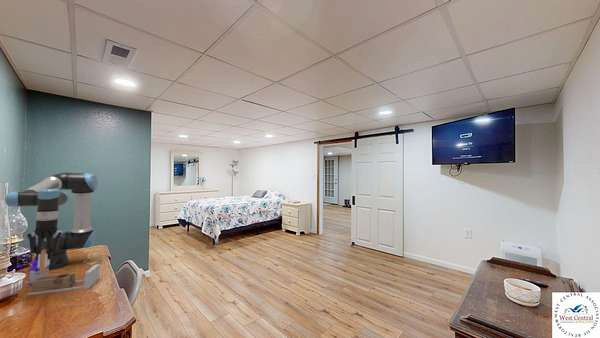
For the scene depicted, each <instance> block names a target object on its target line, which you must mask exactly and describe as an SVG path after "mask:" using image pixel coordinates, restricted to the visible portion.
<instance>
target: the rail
mask: <svg viewBox="0 0 600 338" xmlns="http://www.w3.org/2000/svg"><path fill="white" fill-rule="evenodd" d="M100 267H101V266H100V263H99V264H94V265H93V266H91V268H89V269H88V270H87V271H86V272H85V274H84V279H81V280H80V279H79V280H75V283H74V284H79V283H80V284H81V283H84V285H81V286H71V287H70V288H64V289H56V290H47V291H39V292H31V291H30V292H27V293H26V295H27V296H33V295H42V294H49V293H58V292H64V291H66V292H67V291H75V290H81V289H83V290H89V289H90V288H91V287H92V286H93V285H95V284H96V282H97V281H99V280H100V278H99V277H100Z"/></svg>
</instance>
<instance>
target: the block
mask: <svg viewBox="0 0 600 338" xmlns="http://www.w3.org/2000/svg"><path fill="white" fill-rule="evenodd" d="M75 281H76V272H70V273H69V272H68V273H67V272H66V273H59V274H58V273H57V274H48V275H46V276H41V277H39V278H38V279H36V280H35V281H33V282H32V285H31V291H30V292H39V291H47V290H56V289H64V288H72V287H73V285H75V284H76V283H75Z"/></svg>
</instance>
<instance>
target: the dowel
mask: <svg viewBox="0 0 600 338" xmlns="http://www.w3.org/2000/svg"><path fill="white" fill-rule="evenodd" d="M46 253H47V249H42V250H41V261H40V272H39V274H40V275H41V274H46V271H47V266H46V267H44V262H45V254H46Z"/></svg>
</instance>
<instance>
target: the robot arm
mask: <svg viewBox="0 0 600 338" xmlns="http://www.w3.org/2000/svg"><path fill="white" fill-rule="evenodd" d="M97 189H98V178H97V176H96V175H95V174H94V173H90V172H89V173H88V172H61V173H56V174H52V175H48V176H46V177H45V178H43V179H42V180H41V182H39V183H36V184H34V185H32V186H30V187H29V188H26V189H24V190H22V191H11V192H8V193H7V194H6V195H5V199H4V200H5V205H6V206H8V207H36V221H35V229H34V231H33V232H30V233H27V238H28V241H29V249H30V253H31V254H34V255H35V254H36V260H38V266H37V267H40V261H41V250H42V249H47V253H46V254H45V262H44V267H46V266H48V265H49V270H55V269H58V268H63V267H66V266H68V265H70V259H69V256H68V254H67V251H68V250H76V249H88V248H91V247H92V246H93V245H94V243H95V241H96V237H97V231H96V230H94V228H93V226H91V217H92V216H91V213H92V212H91V211H92V195H93V193H94V192H95V191H96V190H97ZM61 190H65V191H66V190H67V191H68V190H69V191H71V194H72V195H74V196H73V197H74V200H73V201H74V204H73V228H72V229H71V230H70V231H69V230H68V229H63V230H59V228H58V221H59V220H58V218H59V209H60V208H59V207H60V206H63V205H65V204H66V203H67V202H68V201H70V200H69V199H70V196H69V194H68V193H67V192H65V191H61ZM36 236H37V238H36Z"/></svg>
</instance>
